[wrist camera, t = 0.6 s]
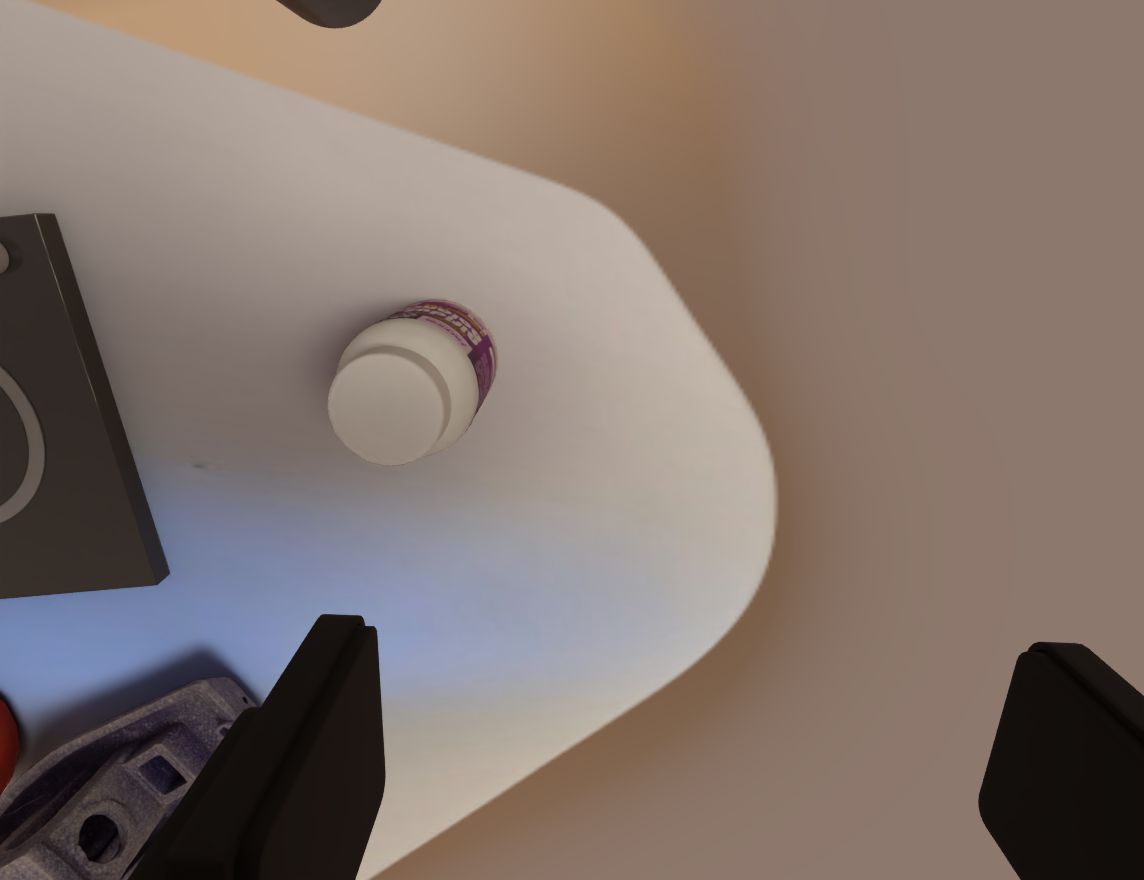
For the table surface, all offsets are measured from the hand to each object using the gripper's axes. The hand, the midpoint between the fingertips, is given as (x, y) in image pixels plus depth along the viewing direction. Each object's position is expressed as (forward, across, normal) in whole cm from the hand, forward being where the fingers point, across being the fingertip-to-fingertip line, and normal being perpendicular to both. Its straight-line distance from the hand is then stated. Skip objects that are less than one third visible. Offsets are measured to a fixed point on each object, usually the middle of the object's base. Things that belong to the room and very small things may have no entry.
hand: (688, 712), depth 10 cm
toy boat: (+24, +24, +22) cm, 40 cm away
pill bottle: (+24, +8, 0) cm, 25 cm away
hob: (+24, +32, +4) cm, 40 cm away
